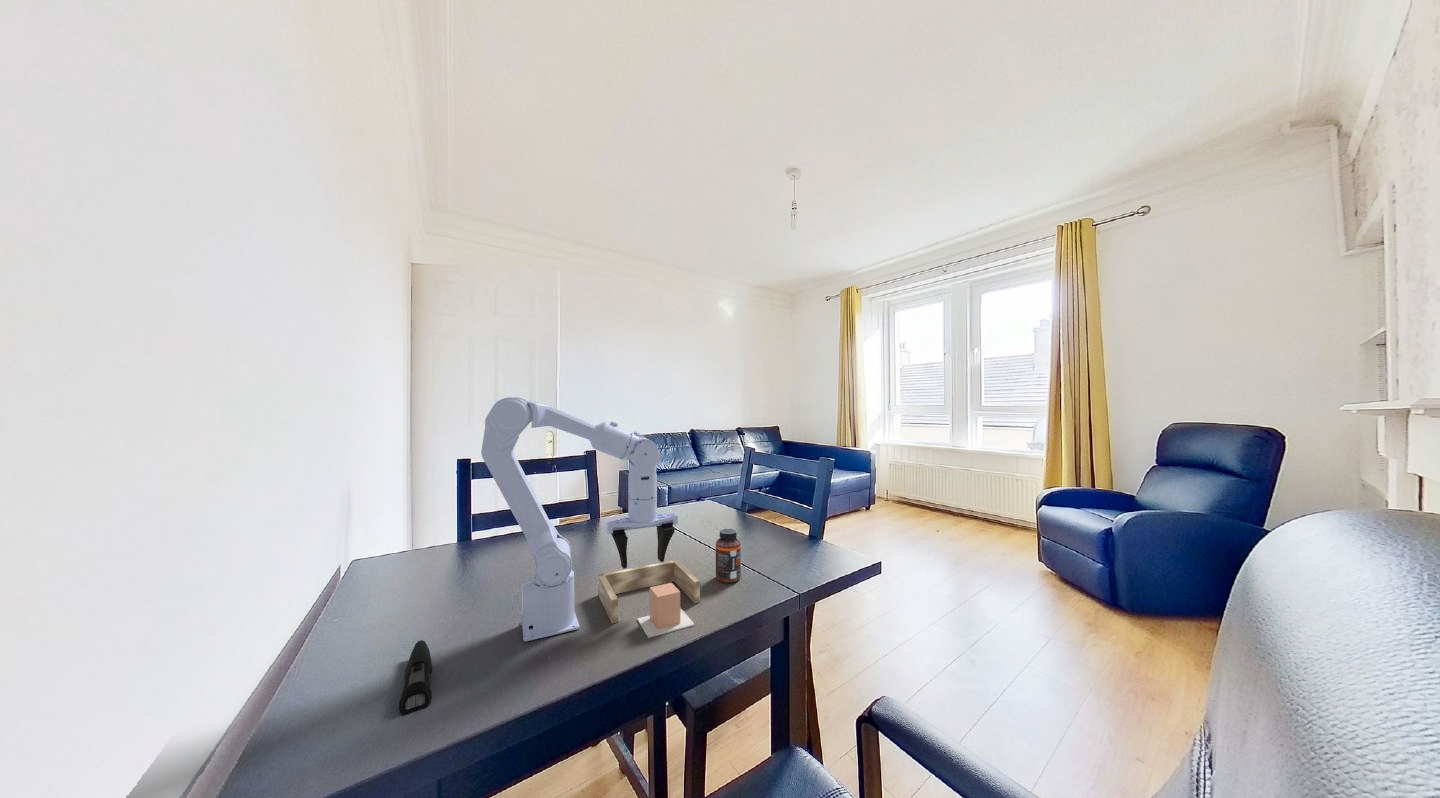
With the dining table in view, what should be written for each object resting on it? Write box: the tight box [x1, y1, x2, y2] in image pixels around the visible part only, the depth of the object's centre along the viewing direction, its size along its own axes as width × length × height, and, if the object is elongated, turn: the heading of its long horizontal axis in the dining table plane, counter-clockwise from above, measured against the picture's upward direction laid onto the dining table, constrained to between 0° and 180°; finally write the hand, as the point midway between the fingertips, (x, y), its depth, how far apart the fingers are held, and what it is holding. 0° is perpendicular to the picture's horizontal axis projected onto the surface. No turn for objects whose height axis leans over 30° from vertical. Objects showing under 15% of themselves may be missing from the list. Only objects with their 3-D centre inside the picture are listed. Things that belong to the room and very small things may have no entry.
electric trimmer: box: [398, 639, 433, 716], centre depth 66 cm, size 4×16×3 cm, turn 32°
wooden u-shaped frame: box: [597, 559, 701, 624], centre depth 92 cm, size 18×13×4 cm
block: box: [649, 582, 681, 629], centre depth 82 cm, size 4×4×6 cm
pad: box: [636, 607, 695, 639], centre depth 82 cm, size 9×7×1 cm
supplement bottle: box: [715, 528, 742, 584], centre depth 102 cm, size 6×6×11 cm
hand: (642, 563), depth 87 cm, fingers open, 7 cm apart
